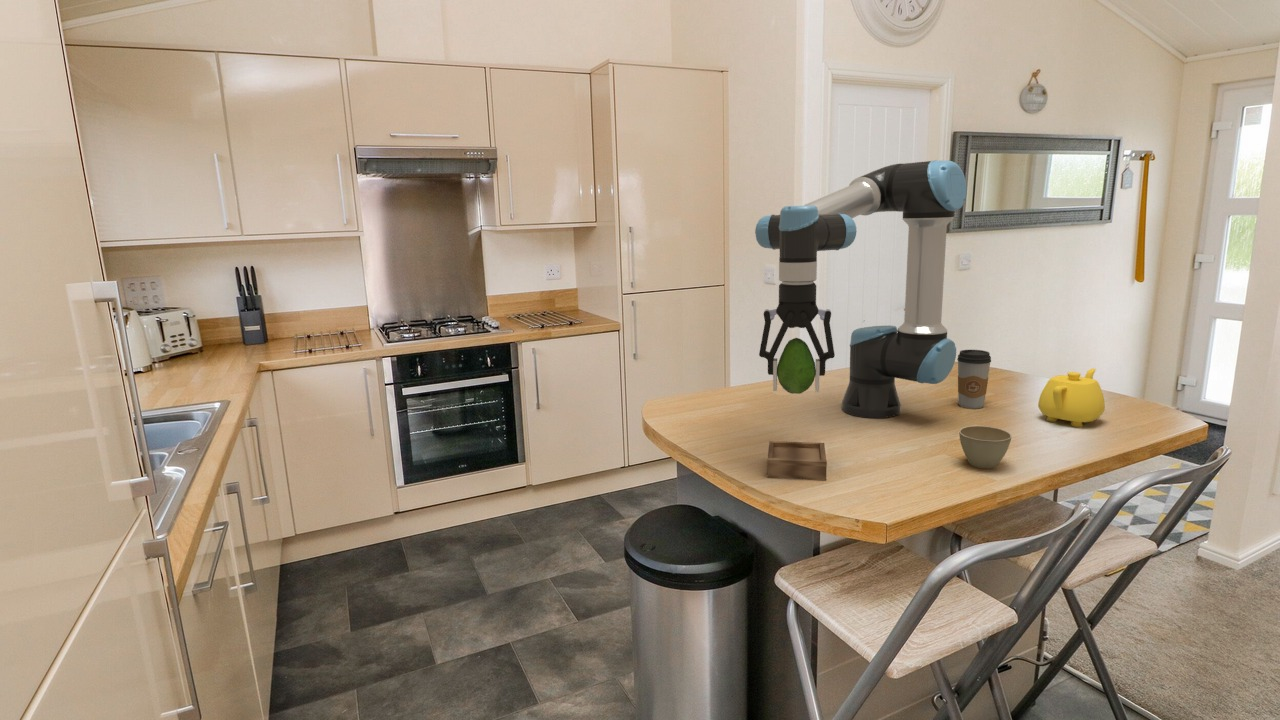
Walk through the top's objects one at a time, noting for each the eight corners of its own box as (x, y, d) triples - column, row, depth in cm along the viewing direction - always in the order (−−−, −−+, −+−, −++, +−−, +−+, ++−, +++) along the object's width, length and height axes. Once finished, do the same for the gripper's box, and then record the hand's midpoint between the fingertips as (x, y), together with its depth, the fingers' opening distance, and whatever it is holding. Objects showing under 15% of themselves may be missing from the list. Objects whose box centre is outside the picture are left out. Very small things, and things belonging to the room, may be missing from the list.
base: (823, 459, 155) (824, 442, 155) (826, 480, 144) (826, 462, 143) (769, 457, 158) (769, 440, 157) (767, 477, 146) (767, 459, 146)
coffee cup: (954, 408, 189) (958, 354, 186) (953, 400, 197) (957, 348, 194) (989, 411, 186) (993, 356, 183) (986, 402, 194) (990, 349, 190)
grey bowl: (948, 458, 154) (950, 427, 152) (991, 455, 155) (993, 424, 153) (973, 474, 144) (975, 441, 142) (1019, 471, 145) (1022, 438, 143)
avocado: (791, 400, 143) (792, 342, 140) (769, 391, 150) (770, 336, 147) (823, 395, 146) (824, 338, 143) (800, 386, 153) (801, 333, 150)
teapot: (1117, 418, 177) (1123, 370, 174) (1081, 434, 165) (1086, 384, 163) (1061, 407, 187) (1066, 362, 185) (1023, 421, 176) (1027, 374, 174)
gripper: (849, 280, 144) (845, 386, 149) (747, 281, 149) (747, 384, 153) (851, 283, 137) (848, 395, 142) (744, 284, 142) (745, 393, 146)
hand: (795, 389), depth 148 cm, fingers closed on avocado, 8 cm apart
